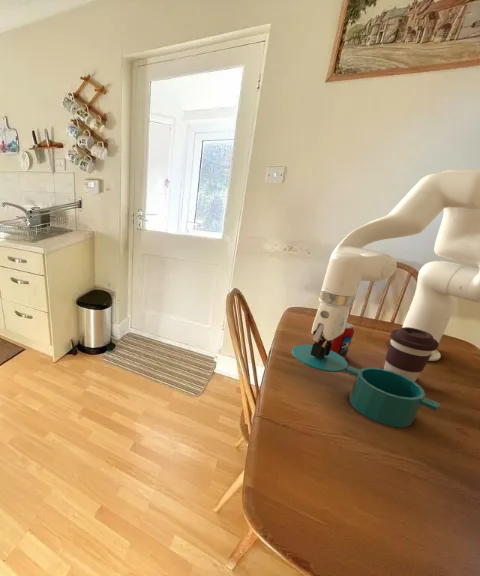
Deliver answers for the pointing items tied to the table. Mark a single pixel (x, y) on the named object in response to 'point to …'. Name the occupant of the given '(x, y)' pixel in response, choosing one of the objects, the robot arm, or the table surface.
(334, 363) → the lid
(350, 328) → the beverage can
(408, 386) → the pot
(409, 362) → the coffee cup
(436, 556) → the table surface
